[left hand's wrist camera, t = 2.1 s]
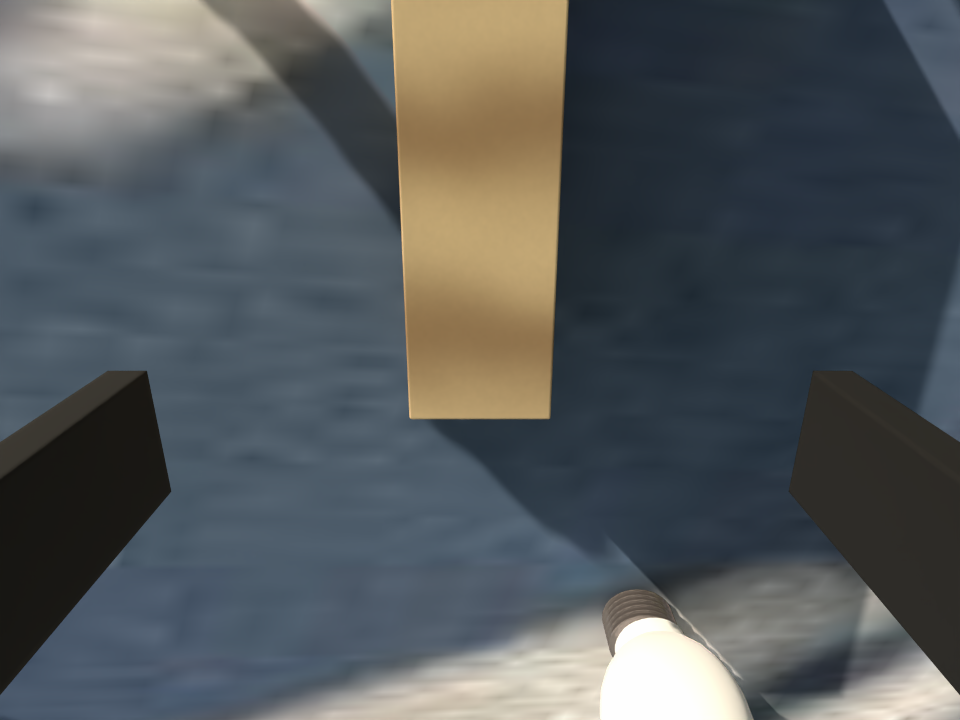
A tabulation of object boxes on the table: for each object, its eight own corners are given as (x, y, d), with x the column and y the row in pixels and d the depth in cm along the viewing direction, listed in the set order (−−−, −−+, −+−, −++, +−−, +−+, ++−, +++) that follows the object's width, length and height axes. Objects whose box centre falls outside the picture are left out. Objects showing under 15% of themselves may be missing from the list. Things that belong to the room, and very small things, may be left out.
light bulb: (555, 624, 35) (586, 829, 25) (636, 545, 33) (706, 732, 23) (643, 678, 37) (707, 894, 26) (726, 606, 35) (829, 808, 25)
